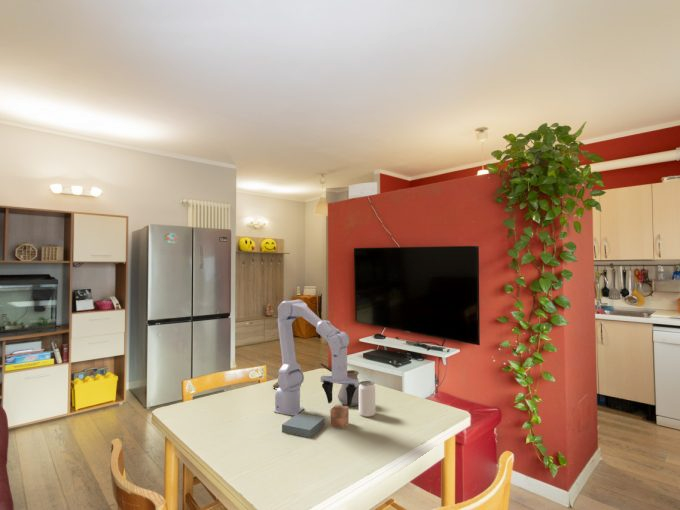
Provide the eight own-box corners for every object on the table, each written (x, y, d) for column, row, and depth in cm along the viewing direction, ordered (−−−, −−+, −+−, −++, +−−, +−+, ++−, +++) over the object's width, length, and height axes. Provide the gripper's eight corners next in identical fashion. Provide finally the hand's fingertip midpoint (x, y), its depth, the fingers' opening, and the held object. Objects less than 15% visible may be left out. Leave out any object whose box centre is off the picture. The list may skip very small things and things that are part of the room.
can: (374, 418, 139) (374, 386, 139) (357, 416, 140) (357, 385, 141) (376, 411, 145) (375, 380, 146) (360, 410, 146) (359, 380, 147)
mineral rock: (283, 377, 184) (294, 376, 180) (285, 386, 183) (296, 385, 179) (266, 383, 176) (277, 382, 171) (268, 393, 175) (279, 391, 170)
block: (330, 426, 132) (330, 409, 132) (336, 420, 136) (336, 404, 137) (343, 428, 130) (343, 411, 130) (348, 423, 134) (348, 406, 135)
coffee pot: (369, 400, 157) (368, 365, 158) (358, 409, 147) (357, 372, 147) (325, 393, 167) (325, 360, 167) (312, 401, 157) (312, 366, 157)
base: (281, 431, 127) (281, 424, 127) (297, 419, 137) (297, 413, 137) (309, 437, 123) (309, 430, 123) (324, 424, 133) (324, 417, 133)
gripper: (316, 366, 133) (316, 404, 133) (353, 371, 127) (354, 410, 127) (325, 362, 140) (325, 398, 139) (360, 366, 134) (361, 403, 133)
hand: (339, 403), depth 133 cm, fingers open, 7 cm apart
